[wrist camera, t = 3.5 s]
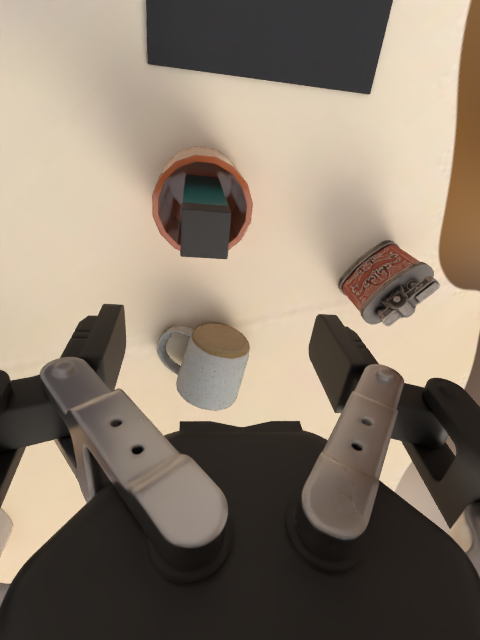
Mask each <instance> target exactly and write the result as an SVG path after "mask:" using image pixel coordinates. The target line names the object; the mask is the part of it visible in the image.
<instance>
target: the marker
mask: <svg viewBox="0 0 480 640" xmlns="http://www.w3.org/2000/svg"><path fill="white" fill-rule="evenodd" d="M230 223H231V211H230V209H229V206H228V203H227V200H226V197H225V194H224V192H223V189H222V186H221V183H220V180H219V178H218V177H209V176H198V175H187V174H186V177H185V185H184V193H183V201H182V209H181V249H180V255H181V256H182V257H199V258H216V259H227V256H228V245H229V234H230Z"/></svg>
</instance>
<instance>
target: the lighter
mask: <svg viewBox="0 0 480 640" xmlns="http://www.w3.org/2000/svg"><path fill="white" fill-rule="evenodd" d="M433 276H434V271H433V269H432V268H431V267H430V266H429V265H427V264H426V263H423V262H419V261H418V260H416V259H415V258H413V257H412V256H410V255H409V254H407V253H406V252H405V251H403V250H402V249H400V248H399V246H398V245H397V244H396V243H394V242H393V241H390V240H387V241H384V242H382V243H380V244H379V245H377V246H375V247H374V248H372V249H371V250H369V251H368V252H367V253H365V254H364V255H363V256H362V257H360V258H359V259H358V260H357V261H356V262H355V263H354V264H353V265H352V266H351V267H350V268H349V269H348V270H347V271H346V272H345V274H344V275H343V276H342V277H341V278H340V280H339V282H338V287H339V289H340V290H341V292H342V293H343V294H344V295H346V296H347V297H348V298H349V299H350V300H351V302H352V303H353V304H354V305H355V306H356V308H357V309H358V310H359V311H360V313H361V316H362V318H363V319H364V320H365V321H366V322H367V323H369V324H378V323H380V322H383V323H384V324H385V325H386V326H390V325H392V324H393V323H394V322H396V321H397V320H398V319H400V318H403V317H409V316H411V315H412V314H413V313H414V312H415V307H416V305H418V304H419V303H421V302H422V301H423V300H425V299H426V298H427V297H428V296H430V295H431V294H432V293H434V292H435V291H436V290H437V289H438V288H439V286H440V284H439V282H438V281H437V280H435V279H434V278H433Z"/></svg>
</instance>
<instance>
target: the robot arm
mask: <svg viewBox="0 0 480 640" xmlns="http://www.w3.org/2000/svg"><path fill="white" fill-rule="evenodd" d="M125 349H126V329H125V312H124V306H123V305H116V304H103V306H102V308H101V310H100V312H99V314H98V316H87V317H86V318H85V319H83V320H82V321H80V322H79V324H78V326H77V328H76V329H75V332H74V333H73V335H72V338H71V339H70V341H69V342H68V344H67V346H66V348H65V350H64V352H63V353H62V355H61V357H60V358H59V359H56V360H53V361H51V362H49V363H47V364H46V365H45V366H44V367H43V368H42V369H41V371H40V375H37V376H33V377H29V378H23V379H18V380H12V381H10V378H9V375H8V374H7V373H6V372H4V371H2V370H0V508H1V505H2V503H3V501H4V498H5V496H6V493H7V491H8V489H9V486H10V484H11V481H12V479H13V477H14V474H15V472H16V469H17V467H18V465H19V462H20V460H21V458H22V455H23V453H24V450H25V448H26V446H30V445H34V444H38V443H42V442H46V441H50V440H54V441H55V443H56V444H57V446H58V448H59V449H60V451H61V453H62V454H63V456H64V458H65V459H66V461H67V463H68V464H69V466H70V468H71V469H72V471H73V473H74V474H75V476H76V478H77V480H78V482H79V485H80V488H81V491H82V493H83V496H84V498H85V500H86V502H87V504H86V505H85V506H84V507H83V508H81V509H80V510H79V511H78V512H77V513H76V514H75V515H74V516H73V517H72V518H71V519H70V520H69V521H68V522H67V523H66V524H65V525H64V526H63V527H62V528H61V529H60V530H58V531H57V532H56V533H55V534H54V535H53V536H52V537H51V538H50V539H49V540H48V541H47V542H46V543H45V544H44V545H43V546H42V547H41V548H40V549H39V550H38V551H37V552H35V553H34V554H33V555H32V556H31V557H30V559H29V560H28V561H27V562H26V563H25V564H24V565H23V567H22V568H21V569H20V571H19V572H18V573H17V575H16V576H15V578H14V579H13V581H12V583H11V584H4V583H0V640H480V407H479V406H478V405H477V403H476V402H475V401H474V400H473V399H472V398H471V397H470V396H469V395H468V393H467V392H466V391H465V390H464V389H463V388H462V387H460V386H459V385H457V384H455V383H453V382H451V381H449V380H446V379H442V378H432V379H429V380H428V382H427V384H426V386H425V388H423V387H419V386H415V385H410V384H406V383H404V379H403V377H402V376H401V375H400V374H399V373H398V372H397V371H395V370H393V369H392V368H389V367H387V366H384V365H379V364H378V362H377V361H376V359H375V358H374V357H373V355H372V354H371V353H370V351H369V350H368V348H366V346H365V344H364V343H363V342H362V340H361V339H360V337H359V336H358V335H357V333H355V332H354V331H353V330H351V329H350V328H349V327H344V325H343V324H342V322H341V321H340V319H339V318H338V317H337V316H336V315H325V314H319V315H318V316H317V317H316V320H315V324H314V328H313V332H312V336H311V340H310V343H309V357H310V360H311V362H312V364H313V366H314V368H315V371H316V373H317V375H318V377H319V379H320V381H321V384H322V386H323V388H324V390H325V392H326V394H327V396H328V399H329V401H330V403H331V405H332V407H333V409H334V412H335V413H341V415H340V417H339V419H338V421H337V423H336V425H335V427H334V429H333V431H332V433H331V435H330V437H329V439H328V440H326V439H324V438H322V437H320V436H318V435H316V434H313V433H310V432H307V431H303V430H302V427H301V424H300V421H270V422H266V423H261V424H257V425H252V426H248V427H236V426H231V425H226V424H221V423H216V422H211V421H180V431H177V432H173V433H170V434H167V435H165V436H163V435H162V433H161V432H160V431H159V430H158V429H157V428H156V427H155V426H154V424H153V423H152V422H151V421H150V420H149V419H148V418H147V417H146V416H145V414H144V413H143V412H142V411H141V410H140V409H139V408H138V407H137V406H136V404H135V403H134V402H133V401H132V400H131V399H130V398H129V397H128V396H127V394H126V393H125V392H124V391H123V390H121V389H116V390H114V389H115V386H116V382H117V379H118V375H119V372H120V368H121V365H122V361H123V358H124V354H125ZM448 436H450V438H451V439H452V441H453V442H454V444H455V446H456V453H457V454H456V457H455V455H454V454H453V452H452V451H451V449H450V448H449V447H448V445H447V444H446V440H447V438H448ZM390 438H392V439H396V440H400V441H402V443H403V445H404V447H405V449H406V450H407V452H408V454H409V456H410V458H411V459H412V461H413V463H414V465H415V467H416V469H417V470H418V472H419V474H420V476H421V478H422V479H423V481H424V483H425V485H426V487H427V488H428V490H429V492H430V494H431V496H432V497H433V499H434V501H435V503H436V505H437V506H438V508H439V510H440V512H441V513H442V515H443V517H444V519H445V521H446V522H447V524H448V526H449V528H450V531H449V535H448V534H447V533H446V532H445V531H443V530H442V529H441V528H440V527H438V526H437V525H436V524H435V523H433V522H432V521H431V520H429V519H428V518H427V517H426V516H424V515H423V514H422V513H420V512H419V511H418V510H417V509H415V508H414V507H413V506H411V505H410V504H409V503H408V502H406V501H405V500H404V499H402V498H401V497H400V496H399V495H397V494H396V493H395V492H394V491H392V490H391V489H390V488H389V487H387V486H386V485H385V484H383V483H382V482H381V481H380V480H379V477H380V474H381V470H382V467H383V463H384V460H385V456H386V452H387V449H388V445H389V442H390Z"/></svg>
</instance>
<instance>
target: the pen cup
mask: <svg viewBox="0 0 480 640" xmlns="http://www.w3.org/2000/svg"><path fill="white" fill-rule="evenodd" d="M186 174H187V175H198V176H209V177H218V178H219V180H220V183H221V186H222V189H223V192H224V194H225V197H226V200H227V203H228V206H229V209H230V211H231V223H230V234H229V245H228V250H229V249H231V248H232V247H233V246H234V245H235V244H237V243H238V242H239V241H240V240H241V239H242V238H243V236H244V234H245V232H246V230H247V228H248V227H249V225H250V222H251V214H252V206H253V204H252V199H251V195H250V191H249V188H248V184H247V183H246V181H245V180H244V178H243V177H242V176H241V174H240V173H239V172H238V170H237V169H236V168H235V166H234V165H233V164H232V162H231V161H230V160H229V158H228V157H226V156H225V155H223V154H221V153H220V152H218V151H216V150H214V149H212V148H206V147H192V148H189V149H186V150H183V151H181V152H179V153H177V154H176V155H175V156H174V157H173V158H172V159H171V160H170V161H169V162H168V163H167V164H166V165H165V167H164V169H163V171H162V173H161V175H160V177H159V180H158V182H157V185H156V187H155V190H154V192H153V195H152V208H153V218H154V220H155V222H156V225H157V227H158V229H159V232H160V234H161V235H162V236H163V237H164V238H165V239H166V240H167V241H168V242H169V243H170V244H171V245H172V246H173V247H174V248H175V249H177V250H180V249H181V209H182V201H183V193H184V185H185V177H186Z"/></svg>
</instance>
